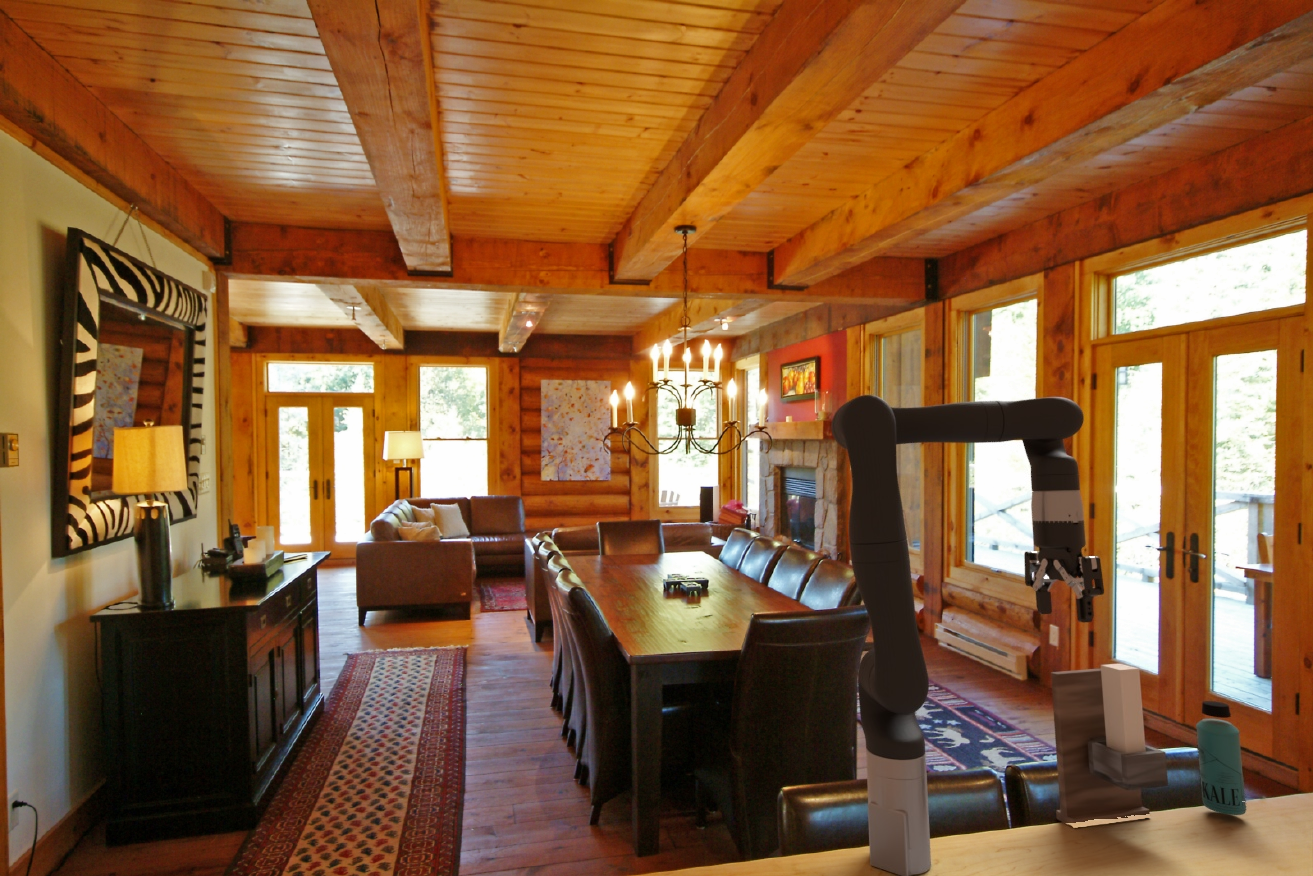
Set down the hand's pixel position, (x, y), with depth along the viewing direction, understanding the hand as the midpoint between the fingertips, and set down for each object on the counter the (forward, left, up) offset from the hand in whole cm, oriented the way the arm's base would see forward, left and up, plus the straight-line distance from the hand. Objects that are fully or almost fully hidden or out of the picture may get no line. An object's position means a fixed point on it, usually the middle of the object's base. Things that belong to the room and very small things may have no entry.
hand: (1064, 617), depth 116 cm
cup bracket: (+17, -3, -38) cm, 42 cm away
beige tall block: (+16, -4, -28) cm, 33 cm away
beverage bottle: (+34, -16, -38) cm, 54 cm away
